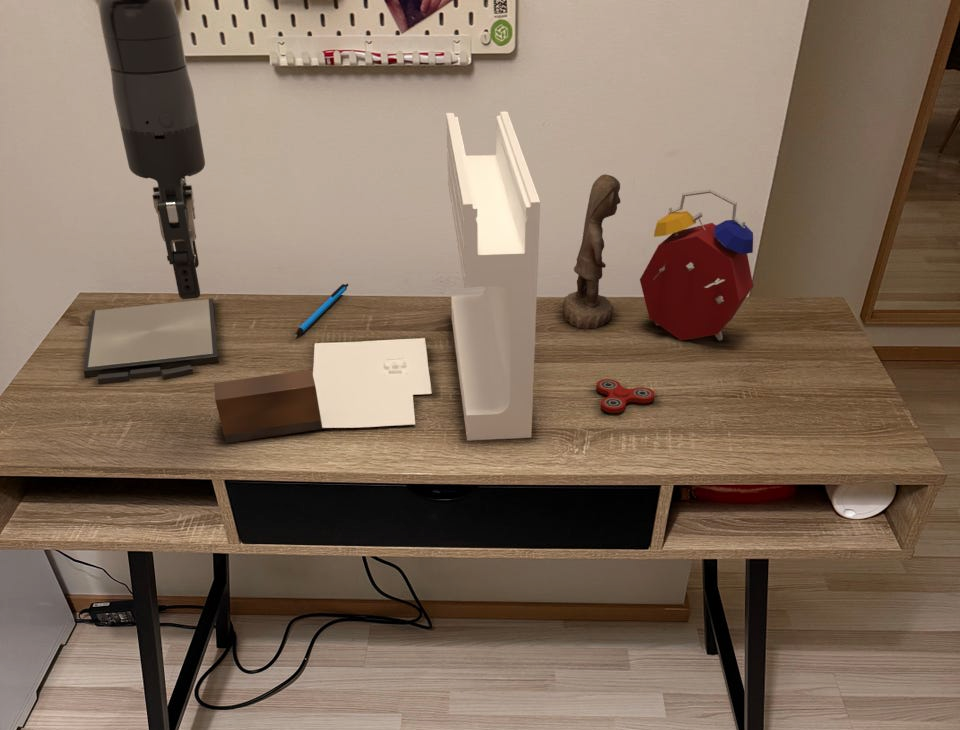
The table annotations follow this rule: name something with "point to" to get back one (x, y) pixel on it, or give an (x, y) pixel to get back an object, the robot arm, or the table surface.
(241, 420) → the eraser
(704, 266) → the alarm clock
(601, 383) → the fidget spinner
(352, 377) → the paper
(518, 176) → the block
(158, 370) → the stroke
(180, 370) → the stroke
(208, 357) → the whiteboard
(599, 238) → the figurine
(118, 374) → the stroke
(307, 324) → the pen
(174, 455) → the table surface
